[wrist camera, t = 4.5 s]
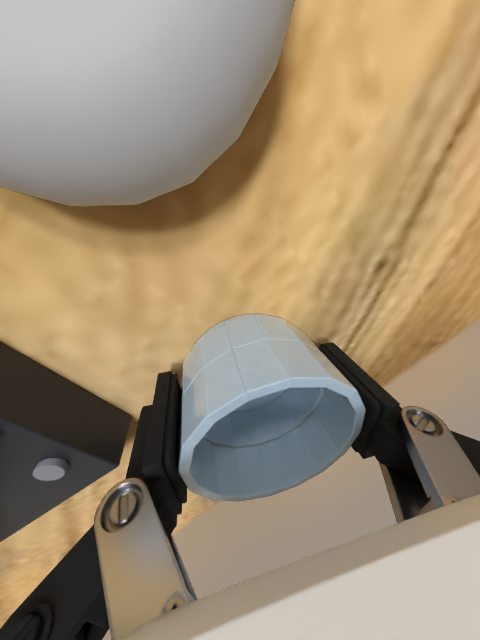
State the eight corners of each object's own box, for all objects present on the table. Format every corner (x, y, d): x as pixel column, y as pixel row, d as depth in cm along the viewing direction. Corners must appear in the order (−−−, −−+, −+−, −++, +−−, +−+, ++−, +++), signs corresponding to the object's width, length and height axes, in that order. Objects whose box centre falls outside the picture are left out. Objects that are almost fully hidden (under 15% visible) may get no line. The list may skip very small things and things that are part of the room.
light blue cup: (271, 282, 9) (333, 336, 5) (320, 368, 13) (379, 439, 9) (151, 364, 10) (128, 466, 6) (229, 425, 13) (247, 515, 9)
